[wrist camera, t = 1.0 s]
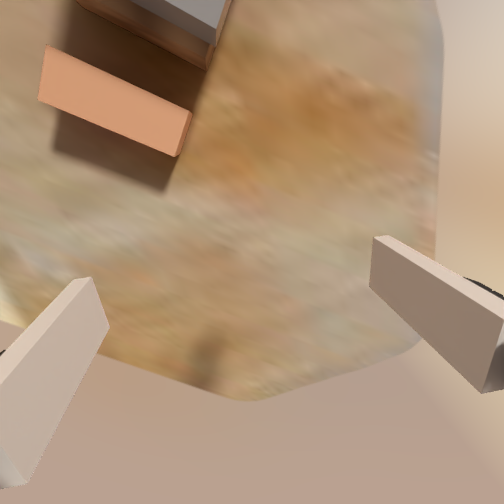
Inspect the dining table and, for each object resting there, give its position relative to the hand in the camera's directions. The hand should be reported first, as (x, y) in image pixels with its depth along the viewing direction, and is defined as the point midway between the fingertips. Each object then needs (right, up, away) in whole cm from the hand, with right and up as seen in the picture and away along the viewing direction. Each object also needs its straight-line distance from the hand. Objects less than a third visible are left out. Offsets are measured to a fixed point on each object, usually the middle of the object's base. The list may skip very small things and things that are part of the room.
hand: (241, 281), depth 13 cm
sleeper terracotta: (-11, +15, +14) cm, 23 cm away
